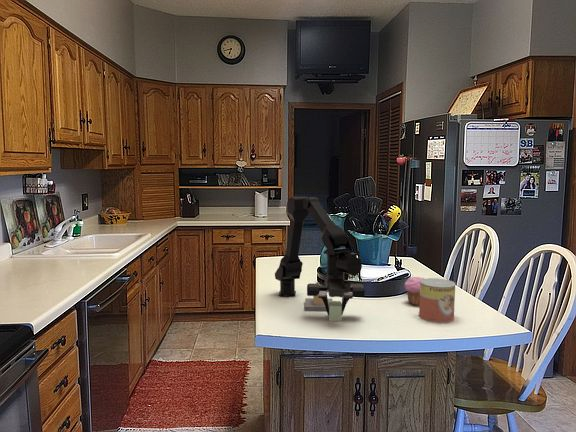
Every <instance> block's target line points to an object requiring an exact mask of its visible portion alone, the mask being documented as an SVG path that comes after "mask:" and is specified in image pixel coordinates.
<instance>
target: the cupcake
mask: <svg viewBox="0 0 576 432" xmlns="http://www.w3.org/2000/svg"><path fill="white" fill-rule="evenodd" d="M422 279H426V278H424V277H420V276H412V277H409V278H408V279H407V280H406V281H405V282H404V289H405V290H406V292H407V293H406V294H407V301H408V303H410V304H412V305H414V306H419V305H420V281H421V280H422Z"/></svg>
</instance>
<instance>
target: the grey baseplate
mask: <svg viewBox="0 0 576 432" xmlns="http://www.w3.org/2000/svg"><path fill="white" fill-rule="evenodd" d="M329 301H334V300H333V298H328V306H329ZM304 304H305V305H304V311H306V312H327V311H326V307H325V305H313V298H310V297H309V298H307V297H306V298H304Z"/></svg>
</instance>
